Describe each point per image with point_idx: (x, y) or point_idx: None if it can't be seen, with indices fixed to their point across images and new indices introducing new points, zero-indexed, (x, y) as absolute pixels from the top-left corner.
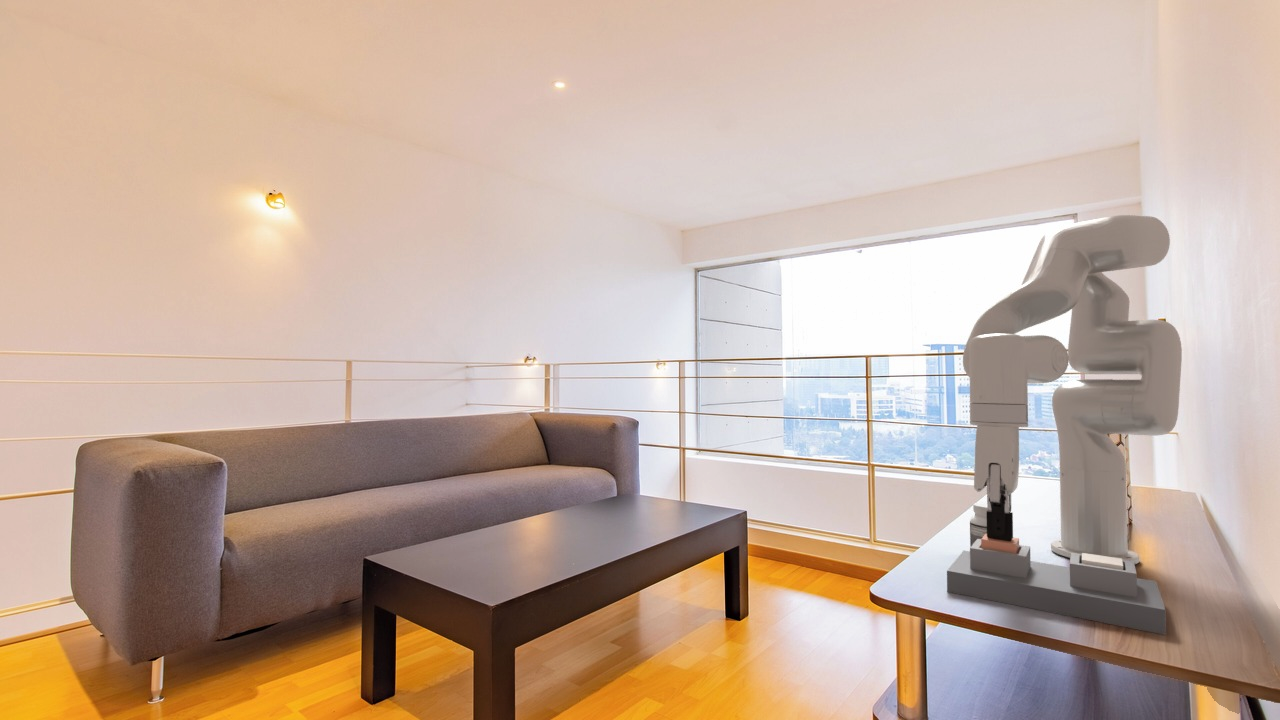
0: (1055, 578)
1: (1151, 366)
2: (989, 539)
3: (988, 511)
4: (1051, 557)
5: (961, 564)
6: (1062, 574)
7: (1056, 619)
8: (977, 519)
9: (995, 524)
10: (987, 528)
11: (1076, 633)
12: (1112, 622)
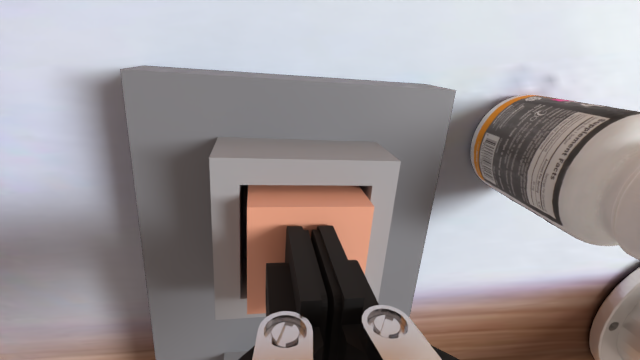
0: None
1: None
2: (263, 234)
3: (270, 319)
4: (622, 251)
5: (252, 105)
6: None
7: (121, 301)
8: (614, 152)
9: (267, 298)
10: (290, 247)
11: (54, 335)
12: None
